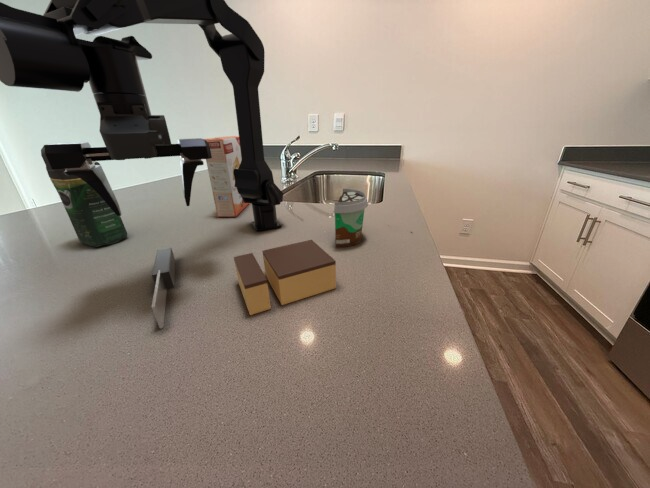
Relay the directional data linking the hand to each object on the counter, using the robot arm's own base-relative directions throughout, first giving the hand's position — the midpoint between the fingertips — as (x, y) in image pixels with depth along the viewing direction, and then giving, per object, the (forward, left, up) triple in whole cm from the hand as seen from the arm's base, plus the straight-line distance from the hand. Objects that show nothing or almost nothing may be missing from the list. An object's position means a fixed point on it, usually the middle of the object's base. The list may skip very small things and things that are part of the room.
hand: (155, 210), depth 40 cm
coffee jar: (-26, -15, -12) cm, 33 cm away
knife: (+4, -1, -12) cm, 13 cm away
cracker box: (-34, +16, -12) cm, 40 cm away
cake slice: (+12, +11, -12) cm, 20 cm away
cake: (+12, +19, -12) cm, 25 cm away
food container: (+2, +36, -12) cm, 38 cm away
